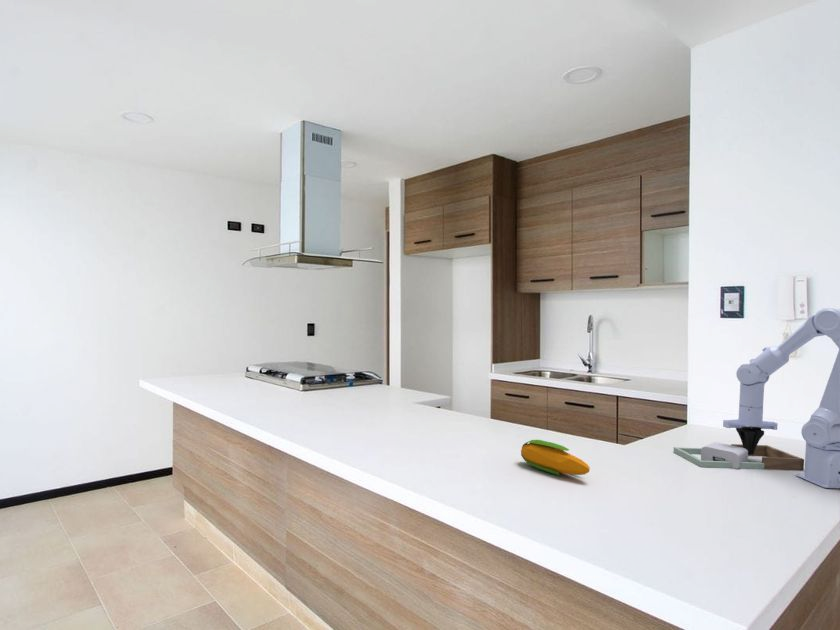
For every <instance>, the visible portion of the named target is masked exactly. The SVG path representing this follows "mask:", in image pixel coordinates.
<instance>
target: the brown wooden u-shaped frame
mask: <svg viewBox="0 0 840 630" xmlns="http://www.w3.org/2000/svg"><path fill="white" fill-rule="evenodd" d="M730 445H733V446H738V447H742V448H743V444H742V443H741V444H739V443H738V444H736V443H735V444H734V443H731V444H730ZM749 456H751V457H761V462H762V463H764V469H763V470H781V471H782V470H783V471H805V458H801V457H799V456H796V455H794V454H791V453H788V452H785V451H783V450H781V449H779V448H775V447H773V446H770V445H768V444H765V445H764V444H757V446H756V448H755V451H754V454H753V455H749V454H748V457H749Z"/></svg>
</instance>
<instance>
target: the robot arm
mask: <svg viewBox="0 0 840 630" xmlns="http://www.w3.org/2000/svg"><path fill="white" fill-rule="evenodd" d="M822 336H823V337H824V336H827V337H828V338H830V340H832V342H833V343H834V344H835V346H837V348H838V351H837V355H836V357H835V361H834V363H833V365H832V368H831V373H830V375H829V377H828V380H827V383H826V386H825V389H824V392H823V394H822V396H821V400H820V402H819V406H818V408H817V409H816V410H814V411H813V413H812V414H810V415H811V416H810V417H809V420H808V421H806V423H805V424H803V426H802V427H801V432H800V433H801V436H802V439H803V440H804V441H805V457H804V473H795V476H796V477H799V478H801V479H804V480H806V481H808V482H810V483H812V484H814V485H817V486H820V487H821V488H824V489H825V488H826V489H840V308H839V309H838V308H833V307H826V308H822V309H820V310H818V311H817V312H816V313H815V315H814V314H813V315H811V316H810V317H808V319H806V321H804V323H803V324H802V325H800V326H799V327H798V328H797V329H796V330H795V331H794V332H792V333H791V334H790V335H789V336H788V337H787V338H785V340H784V341H783V342H781V343H780V344H779V345H777V346H776V345H770V346H766V347H763V348H762V349H761V350H762V352H761V353H760V354H758V356H756V357H755V358H752V359H750V360H749V363H743V364H741V365H739V367H738V368H737V369H736V373H735V374H736V378H737V380H738V381H739V382H740V383H739V384H740V385H739V403H738V419H723V420H722V421H723V422H722V424H723V425H722V427H723V428H725V429H735V430H736V432H737V433H738V436H739V439H740V440H741V445H743V448H745V449H747V450H748V454H749V455H753V454H754V451H755V448H756V446H757V445H759V442H760V440H761V439H762V437H763V436H764V435H765V431H764V430H772V431H773V430H774V431H778V425H779V424H778V422H774V421H767V420H766V421H765V420H763V417H764V395H765V385H766V384H767V382H768V381H769V379H770V377H771V375H773V374H774V373H775V372H777V371H778V370H779V369H781V368H782V367H784V366H785V365H786V364H788V363H789V361H790V355H791V354H793V353H794V352H795V351H797V350H799V349H800V348H801V347H802V346H804V345H806V344H808V343H809V342H810V341H811V340H813V339H814V338H817V337H822Z"/></svg>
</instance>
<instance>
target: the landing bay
mask: <svg viewBox="0 0 840 630" xmlns="http://www.w3.org/2000/svg"><path fill="white" fill-rule="evenodd" d="M701 448H702V447H681V446H679V447H677V446H676V447H675V446H673V453H674V454H675V455H677V456H679V457H682V458H683V459H685V460H687V461H689V462H691V463H692V464H695V465H696V466H698V467H700V468H715V469H716V468H718V469H720V468H721V469H733V468H732V462H727V461H702V460H701V458H698V457H696V456H695V455H701ZM738 469H747V470H748V469H749V470H750V469H751V470H765V469H764V463H762V461H761V462H759V461H758V462H757V461H756V462H755V461H748V462H740V467H739V468H738Z"/></svg>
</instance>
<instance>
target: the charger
mask: <svg viewBox="0 0 840 630" xmlns="http://www.w3.org/2000/svg"><path fill="white" fill-rule="evenodd" d="M700 448H701V454H700V459H701V460H702V461H727V462H732V468H731V469H734V470H737V469H740V468H739V467H740V462H749V461H748V460H749V456H748V450H747V449H745V448H742V447H738V446H733V445H731V444H727V443H723V442H717V441H716V442H712V443H710V444H707V445H705V446H702V447H700Z"/></svg>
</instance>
